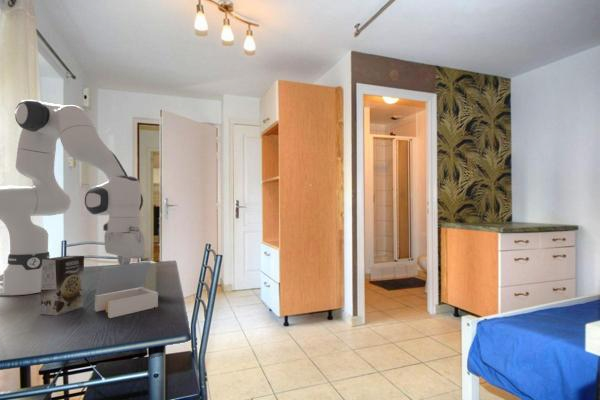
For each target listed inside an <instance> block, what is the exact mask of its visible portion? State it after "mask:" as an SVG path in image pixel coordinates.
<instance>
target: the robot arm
mask: <svg viewBox="0 0 600 400" xmlns="http://www.w3.org/2000/svg"><path fill="white" fill-rule="evenodd" d="M14 112H15V113H14V118H15V121H16V123H17V124H18V126H19V127H20V128H21V132H20V135H19V139H18V143H17V148H16V149H17V151H16V161H15V168H16V171H17V172H18V173H19V174H20V175H23V176H24V177H26V178H28V179H30V180H31V181H32V186H22V185H21V186H20V185H6V186H0V221H2V222H3V224H4V225H5V227H6V229H7V231H8V234H9V236H8V237H9V247H10V248H9V254H8V256H7V264H8V265H7V267H6V268H5V269H4V270H3V273H1V274H0V296H21V295H32V294H36V293H37V294H38V293H41V275H42V259H48V258H51V257H50V252H49V233H48V231H47V229H45V228H44V227H42V226H40V225H38V224H35V223H33V221H32V219H31V217H33V216H34V217H35V216H37V217H38V216H39V217H41V216H44V217H45V216H46V217H47V216H48V217H50V216H56V215H57V216H58V215H62V214H65V213H66V212H67V211H68V210H69V209H70V207H71V202H72V201H71V200H72V199H71V196H70V195H69V193H68V192H67V191H66V190H65V189H63V188H62V187H61V186H60V185H59V183H58V181H57V179H56V176H55V161H56V151H57V141H58V140H60V143H61V145H62V147H63V149H64V150H65V152H66V153H67V154H68V155H69V156H70V157H71V158H73V159H75V160H76V161H79V162H83V163H85V164H88V165H90V166H93V167H95V168H96V169H98V170H100V171H101V172H103V174H105V175H106V177H107V179H108V180H107V181H105V182H104V183H102V184H99V185H96V186H95V185H94V186H92V187H91V188H89V189H88V190H87V192H86V194H85V196H84V206H85V208H86V210H87V211H88V212H89V213H90V214H91V215H96V216H108V220H107V222H105V223H104V224H103V225H102V226H103V227H102V228H103V229H102V230H103V231H104V239H103V240H104V251H105V253H106V254H110V255H115V256H116V257H117V258H116V259H117V261H118V265H123V264H131V260H136V259H143V258H144V257H145V255H146V248H145V247H146V244H145V236H144V234H143V233H142V231H141V213H140V211H141V210H142V207H143V205H144V197H143V194H142V191H141V184H140V181H139V179H138V178H136V177H135V176H130V175H128V174H127V172H126V171H125V168H124V167H123V165H122V163H121V162H120V160H119V159H118V158H117V156H116V155H115V154H114V152H113V151H112V150H110V148H109V147H108V146H107V145H106V144H105V143H104V140H102V139H101V137H100V135H99V134H98V132H97V129H96V127H95V125H94V123H93V122H92V119H91V118H90V117H89V115H88V113H86V110H84V109H83V108H82V107H80V106H77V105H74V104H70V105H69V104H68V105H61V104H57V103H56V104H54V103H49V102H43V101H39V100H35V99H34V100H33V99H25V100H22V101H20V102H19V103H18V104H17V105H16V108H15V111H14Z"/></svg>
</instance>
